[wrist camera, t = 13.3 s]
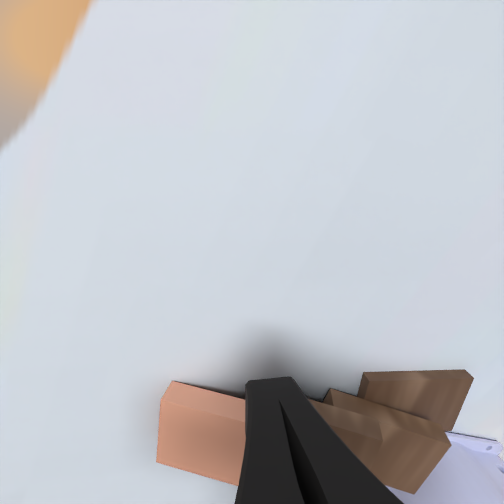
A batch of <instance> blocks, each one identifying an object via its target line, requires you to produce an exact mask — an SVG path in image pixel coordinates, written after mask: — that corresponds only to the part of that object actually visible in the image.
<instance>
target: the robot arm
mask: <svg viewBox="0 0 504 504" xmlns="http://www.w3.org/2000/svg"><path fill="white" fill-rule="evenodd" d="M445 433H446V435H447V437H448V439H449V441H450V442H451V444H452V446H451V447H450V448H449V449H448V451H447V452H446V453H445V455H444V456H443V457H442V459H441V460H440V461H439V463H438V464H437V465H436V467H435V468H434V469H433V471H432V472H431V473H430V475H429V476H428V477H427V479H426V480H425V481H424V483H423V484H422V485H421V487H420V488H419V489H418V491H417V492H416V493H415V494H410V493H407V492H404V491H401V490H398V489H395V488H392V487H389V486H386V485H384V484H383V483H382V482H381V481H380V480H379V479H378V478H377V477H376V476H375V475H374V474H373V473H372V472H371V471H370V470H369V469H368V468H367V467H366V466H365V465H364V464H363V463H362V462H361V460H360V459H359V458H358V457H357V456H356V455H355V454H354V453H353V452H352V451H351V450H350V449H349V447H348V446H347V445H346V444H345V443H344V442H343V441H342V440H341V438H340V437H339V436H338V435H337V434H336V433H335V431H334V430H333V429H332V428H331V427H330V426H329V424H328V423H327V422H326V421H325V420H324V418H323V417H322V416H321V415H320V414H319V412H318V411H317V410H316V408H315V407H314V406H313V405H312V403H311V402H310V401H309V399H308V398H307V397H306V396H305V394H304V393H303V392H302V390H301V389H300V387H299V386H298V385H297V383H296V382H295V380H294V379H293V378H292V377H281V378H271V379H261V380H251V381H248V382H247V383H246V384H245V435H246V441H245V449H244V456H243V462H242V468H241V473H240V479H239V485H238V490H237V495H236V499H235V504H504V461H503V460H502V459H501V458H500V457H499V456H498V455H499V454H500V452H501V451H502V450H503V445H502V444H501V443H500V442H498V441H492V440H487V439H481V438H475V437H470V436H464V435H459V434H453V433H448V432H445Z"/></svg>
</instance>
